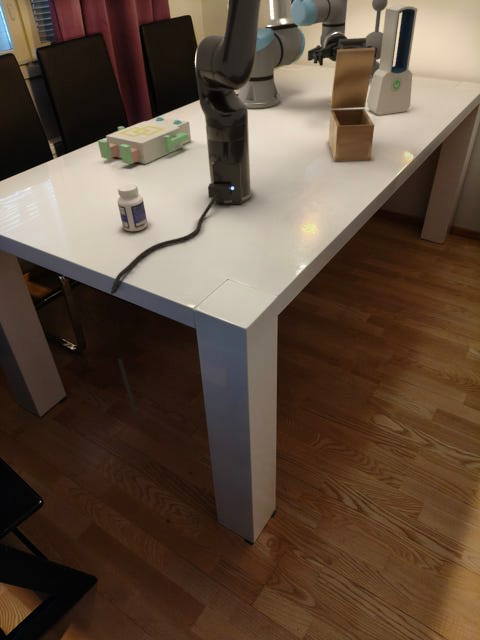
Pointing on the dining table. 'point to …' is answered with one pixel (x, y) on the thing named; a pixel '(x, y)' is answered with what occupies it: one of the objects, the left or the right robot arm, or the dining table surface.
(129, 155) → the decorative block
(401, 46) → the electronic device
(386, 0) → the molecular model
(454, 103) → the dining table surface
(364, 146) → the chest
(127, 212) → the pill bottle
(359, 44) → the lid
